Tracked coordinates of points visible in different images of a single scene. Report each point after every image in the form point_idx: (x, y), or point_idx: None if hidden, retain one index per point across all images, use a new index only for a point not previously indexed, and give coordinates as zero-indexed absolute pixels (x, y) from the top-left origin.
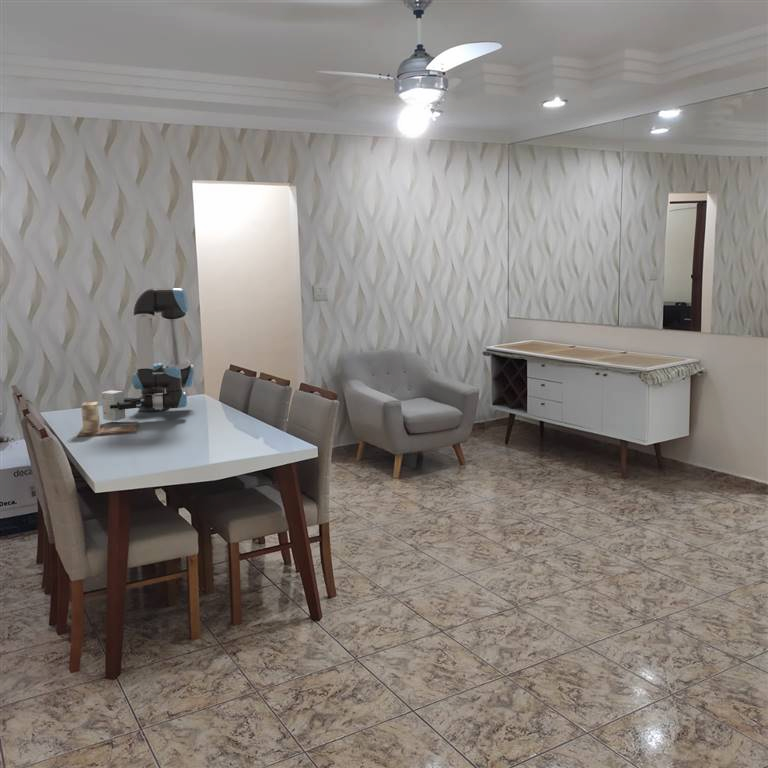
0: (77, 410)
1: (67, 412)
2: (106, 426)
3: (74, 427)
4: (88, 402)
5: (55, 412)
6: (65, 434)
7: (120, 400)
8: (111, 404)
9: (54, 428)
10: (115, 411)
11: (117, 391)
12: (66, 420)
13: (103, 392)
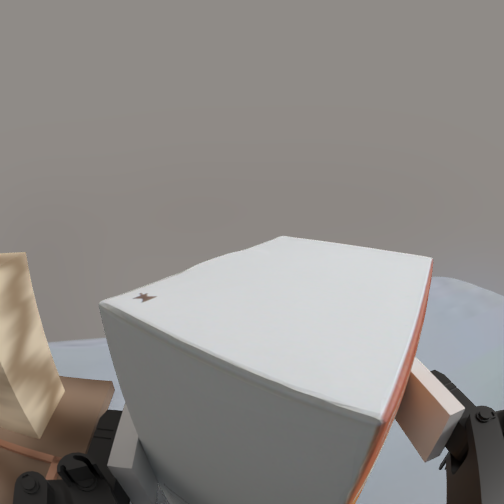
0: (498, 300)
1: (467, 294)
2: (49, 469)
3: None
4: (3, 260)
5: (455, 281)
6: (65, 350)
7: (234, 497)
8: (125, 417)
9: None
10: (168, 500)
11: (336, 314)
12: None
13: (273, 242)
